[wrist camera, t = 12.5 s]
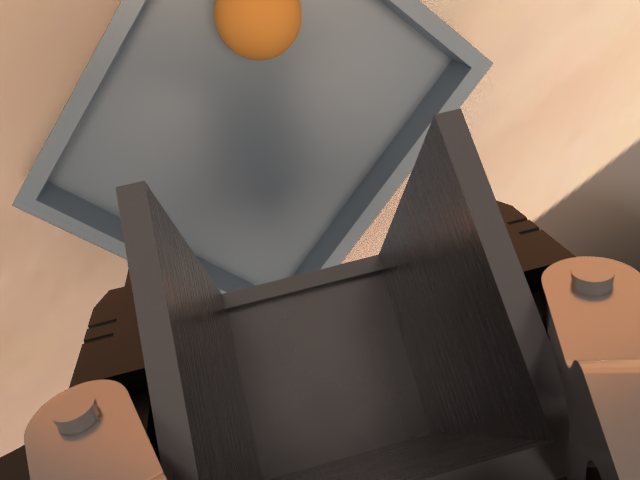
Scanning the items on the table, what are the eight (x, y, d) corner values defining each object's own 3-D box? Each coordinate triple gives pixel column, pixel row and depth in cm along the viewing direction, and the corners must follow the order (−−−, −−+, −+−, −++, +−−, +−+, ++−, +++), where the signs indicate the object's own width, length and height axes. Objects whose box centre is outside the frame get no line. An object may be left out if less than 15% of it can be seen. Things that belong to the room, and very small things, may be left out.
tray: (279, 304, 27) (286, 334, 25) (30, 181, 23) (11, 205, 20) (466, 53, 24) (493, 63, 21) (213, -158, 19) (214, -173, 17)
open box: (446, 445, 14) (598, 467, 7) (252, 500, 14) (181, 590, 6) (388, 260, 16) (460, 108, 8) (212, 304, 15) (115, 187, 8)
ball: (269, 43, 22) (300, 80, 20) (195, 30, 20) (220, 69, 19) (292, -36, 20) (328, -5, 18) (213, -57, 19) (244, -25, 17)
